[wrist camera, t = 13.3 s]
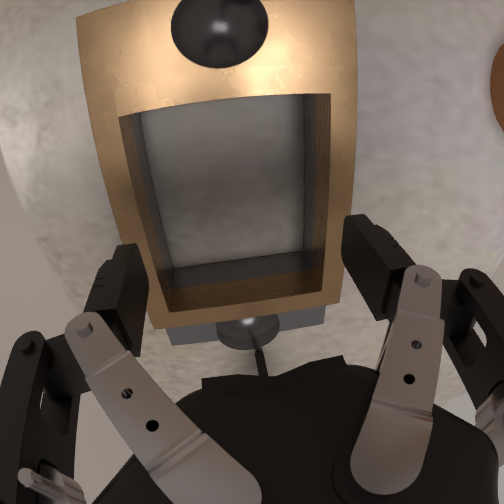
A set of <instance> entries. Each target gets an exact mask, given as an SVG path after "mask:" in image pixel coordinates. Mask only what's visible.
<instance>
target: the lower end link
mask: <svg viewBox="0 0 504 504" xmlns="http://www.w3.org/2000/svg"><path fill="white" fill-rule="evenodd" d="M303 108H304V233H303V251H299V252H292V253H285V254H278V255H270V256H263V257H256V258H249V259H241V260H234V261H226V262H219V263H212V264H204V265H197V266H189V267H182V268H174V269H173V267H172V263H171V259H170V255H169V252H168V248H167V244H166V240H165V236H164V232H163V227H162V223H161V219H160V215H159V210H158V206H157V202H156V197H155V192H154V188H153V183H152V178H151V174H150V169H149V164H148V159H147V153H146V148H145V143H144V137H143V132H142V126H141V120H140V114H139V112H137V113H133V114H130V117H131V123H132V129H133V134H134V139H135V145H136V150H137V155H138V160H139V165H140V169H141V174H142V179H143V183H144V188H145V192H146V196H147V201H148V205H149V209H150V213H151V217H152V221H153V225H154V229H155V233H156V237H157V241H158V244H159V248H160V252H161V256H162V259H163V263H164V266H165V270H166V273H167V277H168V280H169V284H170V287H171V289H175V288H183V287H191V286H199V285H206V284H214V283H221V282H229V281H236V280H243V279H250V278H257V277H264V276H271V275H278V274H285V273H292V272H299V271H305V270H312V256H313V236H314V211H315V170H316V105H315V93H309V94H303ZM325 308H326V305H324V306H319V307H313V308H308V309H302V310H296V311H290V312H284V313H278V314H271V315H265V316H258V317H251V318H245V319H237V320H230V321H223V322H215V323H207V324H199V325H191V326H182V327H173V328H166V331H167V334H168V336H169V339H170V341H171V344H172V346H173V345H183V344H192V343H201V342H209V341H217V340H220V341H221V342H222V343H223V344H224V345H226V346H228V347H230V348H233V349H238V350H251V349H256V348H259V347H262V346H264V345H266V344H268V343H269V342H271V341H272V340H273V339H274V338H275V337H276V335H277V334H278V332H279V331H285V330H291V329H297V328H302V327H308V326H313V325H319V324H323V323H324V316H325Z"/></svg>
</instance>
